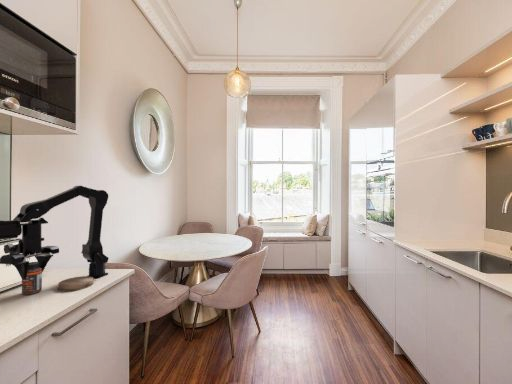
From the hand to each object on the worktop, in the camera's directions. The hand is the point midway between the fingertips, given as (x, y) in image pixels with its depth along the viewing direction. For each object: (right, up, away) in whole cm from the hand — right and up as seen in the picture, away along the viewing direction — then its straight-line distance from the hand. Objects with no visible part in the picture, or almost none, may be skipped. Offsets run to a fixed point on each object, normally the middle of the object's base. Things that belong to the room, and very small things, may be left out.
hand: (32, 276), depth 102 cm
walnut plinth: (+12, -6, +7) cm, 15 cm away
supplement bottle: (0, -6, 0) cm, 6 cm away
